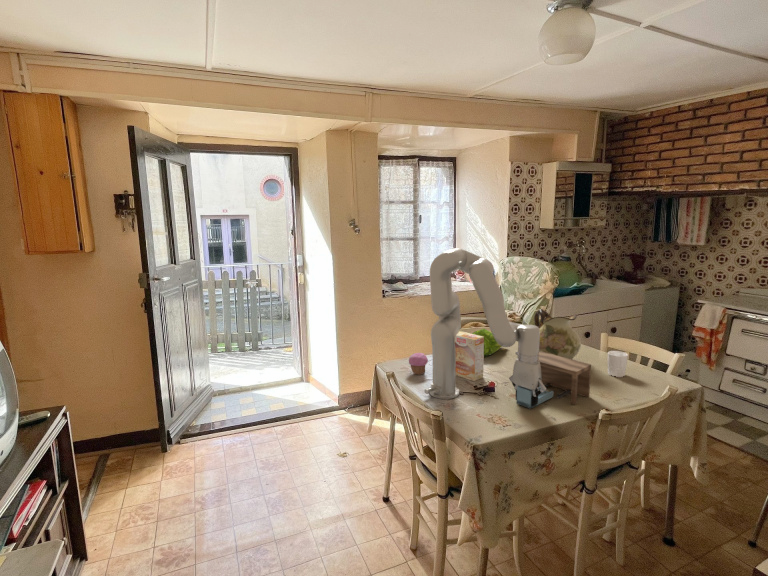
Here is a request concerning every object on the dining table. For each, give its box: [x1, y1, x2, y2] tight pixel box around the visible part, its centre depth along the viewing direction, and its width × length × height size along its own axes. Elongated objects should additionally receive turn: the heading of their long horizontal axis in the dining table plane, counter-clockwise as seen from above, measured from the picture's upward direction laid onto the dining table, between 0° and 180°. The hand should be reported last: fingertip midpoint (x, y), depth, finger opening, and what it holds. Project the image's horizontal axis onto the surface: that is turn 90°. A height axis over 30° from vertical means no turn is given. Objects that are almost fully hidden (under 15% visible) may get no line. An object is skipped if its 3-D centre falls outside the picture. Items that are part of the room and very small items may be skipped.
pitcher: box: [533, 308, 582, 360], centre depth 207 cm, size 22×24×25 cm
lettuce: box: [471, 328, 502, 357], centre depth 224 cm, size 14×24×15 cm
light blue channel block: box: [516, 386, 554, 409], centre depth 164 cm, size 16×6×7 cm, turn 128°
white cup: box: [607, 350, 629, 378], centre depth 189 cm, size 8×8×10 cm
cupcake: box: [408, 352, 429, 376], centre depth 195 cm, size 9×9×10 cm
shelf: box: [539, 351, 592, 406], centre depth 172 cm, size 12×24×14 cm, turn 39°
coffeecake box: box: [455, 330, 485, 382], centre depth 191 cm, size 15×7×20 cm, turn 42°
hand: (526, 401), depth 161 cm, fingers closed on light blue channel block, 6 cm apart
